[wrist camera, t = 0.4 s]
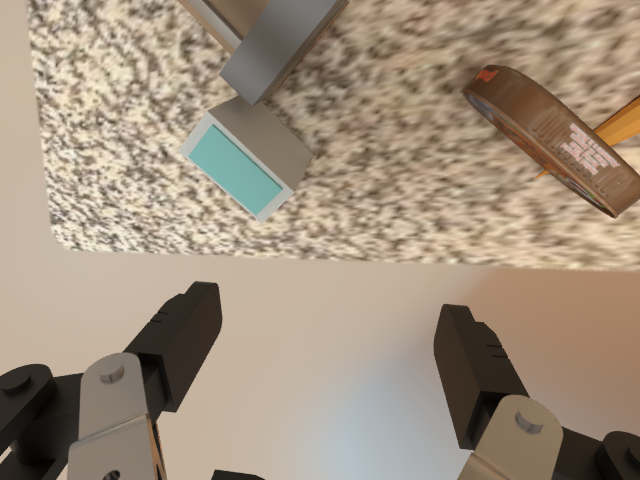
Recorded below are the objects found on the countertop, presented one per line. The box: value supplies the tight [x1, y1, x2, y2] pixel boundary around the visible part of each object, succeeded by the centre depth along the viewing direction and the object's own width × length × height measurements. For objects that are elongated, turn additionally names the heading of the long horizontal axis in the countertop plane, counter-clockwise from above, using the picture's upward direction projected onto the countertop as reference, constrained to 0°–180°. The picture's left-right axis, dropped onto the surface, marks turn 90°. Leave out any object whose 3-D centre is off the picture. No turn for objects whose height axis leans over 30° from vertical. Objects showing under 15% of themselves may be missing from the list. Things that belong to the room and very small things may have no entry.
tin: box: [462, 65, 640, 218], centre depth 24 cm, size 15×3×8 cm, turn 55°
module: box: [178, 95, 314, 223], centre depth 28 cm, size 4×8×9 cm, turn 46°
